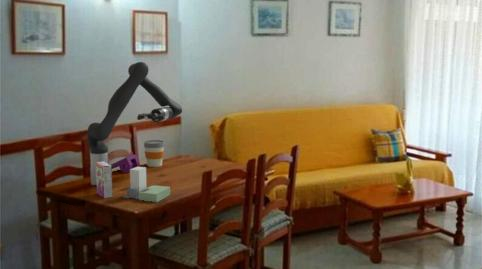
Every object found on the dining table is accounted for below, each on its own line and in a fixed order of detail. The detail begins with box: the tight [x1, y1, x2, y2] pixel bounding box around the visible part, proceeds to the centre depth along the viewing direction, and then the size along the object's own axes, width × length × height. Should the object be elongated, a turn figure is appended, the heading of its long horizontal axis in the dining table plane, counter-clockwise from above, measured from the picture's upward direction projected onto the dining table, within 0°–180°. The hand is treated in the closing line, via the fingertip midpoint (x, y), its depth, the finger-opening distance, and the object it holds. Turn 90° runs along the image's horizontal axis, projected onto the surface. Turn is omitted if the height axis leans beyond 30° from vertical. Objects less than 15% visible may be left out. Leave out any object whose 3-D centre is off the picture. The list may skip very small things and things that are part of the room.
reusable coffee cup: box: [143, 139, 165, 168], centre depth 338 cm, size 13×13×15 cm
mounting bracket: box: [110, 154, 141, 174], centre depth 326 cm, size 9×8×18 cm
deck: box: [122, 184, 171, 203], centre depth 270 cm, size 14×19×4 cm
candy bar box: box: [95, 162, 114, 200], centre depth 271 cm, size 11×5×16 cm, turn 33°
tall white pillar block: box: [129, 166, 148, 197], centre depth 271 cm, size 7×5×14 cm
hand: (145, 118), depth 288 cm, fingers open, 8 cm apart
